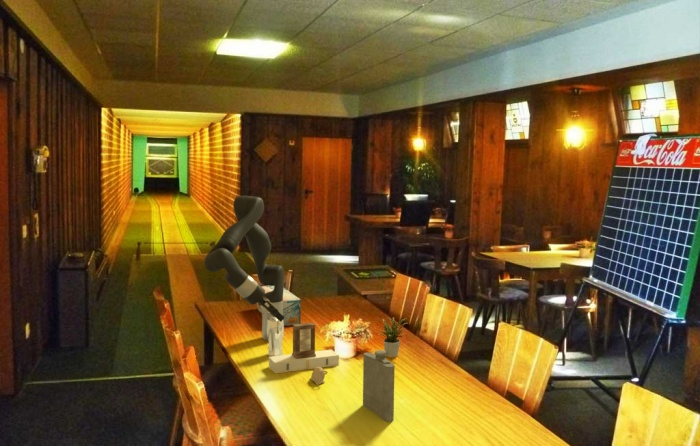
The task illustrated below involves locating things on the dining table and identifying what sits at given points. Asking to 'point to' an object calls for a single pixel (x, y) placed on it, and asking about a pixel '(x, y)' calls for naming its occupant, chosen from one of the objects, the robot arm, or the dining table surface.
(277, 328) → the beer glass
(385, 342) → the house plant
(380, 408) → the hip flask
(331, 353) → the picture ledge
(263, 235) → the robot arm
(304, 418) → the dining table surface
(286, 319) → the soda box
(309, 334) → the picture frame
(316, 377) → the decorative ornament
